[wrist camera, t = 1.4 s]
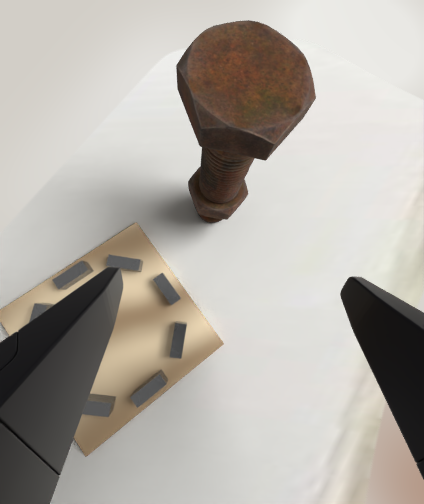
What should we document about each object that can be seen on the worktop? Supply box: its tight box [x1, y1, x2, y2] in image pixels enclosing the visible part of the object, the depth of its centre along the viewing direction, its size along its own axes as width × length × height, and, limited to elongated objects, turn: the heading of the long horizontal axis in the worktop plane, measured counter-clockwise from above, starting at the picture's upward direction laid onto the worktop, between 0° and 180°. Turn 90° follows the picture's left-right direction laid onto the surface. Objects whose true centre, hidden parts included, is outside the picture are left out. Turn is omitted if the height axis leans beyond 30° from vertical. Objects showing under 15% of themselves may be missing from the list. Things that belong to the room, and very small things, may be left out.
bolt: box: [176, 21, 316, 223], centre depth 16 cm, size 6×5×15 cm
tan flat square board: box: [0, 222, 224, 456], centre depth 21 cm, size 14×14×1 cm
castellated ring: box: [29, 255, 187, 417], centre depth 20 cm, size 13×13×1 cm
